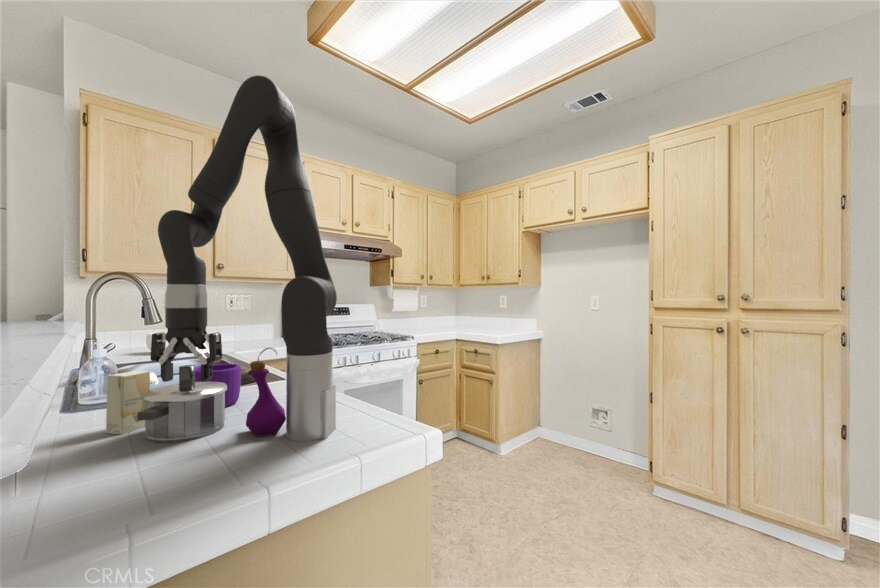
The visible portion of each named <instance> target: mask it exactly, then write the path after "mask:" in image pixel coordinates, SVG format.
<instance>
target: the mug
mask: <svg viewBox="0 0 880 588" xmlns="http://www.w3.org/2000/svg"><path fill="white" fill-rule="evenodd" d="M241 380H242V366H241V365H240V364H237V363H213V376H212V378H211V380H210V381H209V382H222V383H225V384H227V390H226V391H225V408H226V407H229V406H231V405H234V404H235V403H237V402H238V400H239V398H240V394H241V383H242V381H241ZM195 382H201V365H200V366H195Z"/></svg>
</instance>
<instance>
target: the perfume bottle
mask: <svg viewBox="0 0 880 588" xmlns="http://www.w3.org/2000/svg"><path fill="white" fill-rule="evenodd" d="M267 350H272V351H274V352H275V354H276V355H278V352H277V350H276V349H275V348H274V347H272V346H271V347H269V346H268V347H265V348H264V349H263V350H261V351H260V352H259V355H258V357H257V360H254V361H252V362H250V363H249V366H250V369H251V370H249V371H247V375H248V376H250V377H252V378H253V379H254V381H255V383H256V384H257V389H258V398H257V400H256V401H255V403H254V405H252V407H251V408H250V410H249V411H248V412H247V415H246V420H245V426H246V428H247V429H248V430H249V431H250V433H252V434H253V436H255V437H264V436H270V435H271V436H272V435H276V434H278V433H279V431H280V430H281V428H282V426H283V425H284V424H285V422H286V412H285V408H283V407H282V406H283V405H281V404H280V403H279V402H278V400H277V399H276V397H275V396H274V395H273V393H272V391H271V389H270V386H269V384H268V382H267V378H266V377H267V374H270V371H269V368H266V363H265V362H264V361H261V360H260V356H261V354H262V353H264V352H265V351H267Z"/></svg>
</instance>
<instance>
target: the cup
mask: <svg viewBox="0 0 880 588" xmlns="http://www.w3.org/2000/svg"><path fill="white" fill-rule="evenodd" d="M159 332H160V331H157V332H149V333H147V335H146V338H145V340H146V341H145V344H146V347H147V349H149V350H150V351H151V341H152V334H154V333H159ZM164 332H165V333H167V331H164ZM168 345H169V343H168V342H167V341H166V343H165V349H166V348H167V346H168Z"/></svg>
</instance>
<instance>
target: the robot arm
mask: <svg viewBox="0 0 880 588" xmlns="http://www.w3.org/2000/svg"><path fill="white" fill-rule="evenodd" d="M223 123H224V124H223V125H222V127H221V131H220V133H219V134H218V135H219V136H218V138H217V141H216V143H215V145H214V147H213V149H212V152H211V153H210V155H209V157H208V159H207V161H206V162H205V164H204V165H203V167H202V168H201V170H200V172H199V173H198V175H197V176H196V178H195V179H194V180H193V183H192V184H191V186H190V187H189V190H188V192H187V196H188V198H189V200H190V201H191V202H193V203H194V205H193V208H192V210H191V212H190V213H189V212H187V211H183V210H179V209H171V210H168V211H166V212H164V214H162V216H161V217H160V219H159V221H158V225H157V236H158V239H159V243H160V246H161V250H162V253H163V254H162V255H163V257H164V260H165V262H166V263H165V264H166V266H167V267H166V289H165V299H164V300H165V303H164V304H165V306H164V307H165V308H164V310H165V311H164V314H165V317H164V318H165V319H164V320H165V324H164V326H165V328H166V329H167V331H158V332H159V333H155V332H153V333H154V334H152V341H151V350H150V361H151V362H157V363H159V364H160V378H161V380H162V382H164V383H166V382H170V381H173V380H174V362H173V361H174V359H175V358H176V357H177V355H179V354H193V355H194V357H196V358H198V360H199V361H200V363H201V364H200V366H201V382H207V381H210V380H211V378H212V376H213V364H215V362H218V361H220V360H222V359H223V347H222V346H223V345H222V334H221V332H220V331H219V332H217V331H216V332H213V333H207V326H208V292H207V291H208V290H207V266H206V263H205V261H204V260H203V259H202V258H200V257H198V255H196V251H195V248H202V247H204V246H206V245H207V244H209V243H210V242H211V241H212V240H213V238H214V237H215V235H216V232H217V230H218V227H219V224H220V221H221V218H222V213H223V209H224V208H225V206H226V204H227V203H228V201H229V200H230V198H231V197H232V195H233V194H234V192H235V191H236V190H237V188H238V186H239V183H240V180H241V179H242V174H243V169H244V162H245V158H246V153H247V150H248V147H249V144H250V142H251V141H252V138H253V137H254V135H255V134H256V132H257V131H258V130H259V131H260V133H261V136H262V140H263V142H264V146H265V147H264V148H265V150H266V153H267V159H268V160H267V162H268V163H267V170H266V174H265V179H264V194H265V200H266V204H267V209H268V213H269V217H270V220H271V222H272V226H273V228H274V230H275V232H276V233H277V235H278V238H279V239H280V241H281V242H282V244H283V246H284V248H285V249H286V251H287V253H288V256H289V258H290V260H291V261H290V262H291V264H292V267H293V272H294V278H292V279H291V280H289V282H287V283H286V285H285V286H284V289H283V291H282V295H281V303H280V304H281V306H280V307H281V331H282V339H283V342H284V343H285V346H286V347H285V349H286V374H285V375H286V385H285V387H286V399H285V400H286V401H285V402H286V403H285V405H286V412H285V417H286V420H285V422H286V425H285V426H286V427H285V429H286V434H285V435H286V439H288V440H290V441H294V442H311V441H317V440H326V439H328V437H330V435H331V434H332V433H333V432H334V431H335V430H336V428H337V427H336V424H337V423H336V421H337V419H336V417H337V416H336V414H337V413H336V409H337V408H336V400H337V399H336V397H337V396H336V393H337V391H336V390H337V388H336V387H337V386H336V385H334V384H333V339H332V338H331V337H330V335H329V332H328V327H327V326H328V325H327V317H328V316H330V315H331V314H332V313H333V311H334V310H335V307H336V305H337V301H338V299H337V291H336V287H335V285H334V281H333V279H332V278H333V277H332V276H331V274H330V270H329V268H328V265H327V262H326V258H325V255H324V250H323V246H322V239H321V235H320V229H319V224H318V220H317V215H316V210H315V206H314V200H313V196H312V192H311V189H310V185H309V182H308V176H307V173H306V169H305V165H304V161H303V158H302V155H301V149H300V142H299V134H298V127H297V126H298V125H297V124H298V123H297V115H296V112H295V109H294V106H293V104H292V102H291V100H290V99H289V98H288V96H287V95H286V94H285V93H284V92H283V91H282V90H281V89H280V88H279V87H278V85H277V84H276V83H275V81H273V80H272V79H270V78H268V77H266V76H263V75H254V76H253V75H252V76H249V77H248V78H247V79H246V80H244V81H243V82H242V83H241V84H240V86H239V87H238V89H237V92H236V94H235V96H234V97H233V100H232V104H231V105H230V108H229V111H228V114H227V116H226V119H225V121H224V122H223ZM165 332H167V333H165ZM166 341H167V342H168V343H169V345H168V346H167V348H166V349H165V343H166ZM206 343H208V346H207V344H206Z"/></svg>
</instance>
